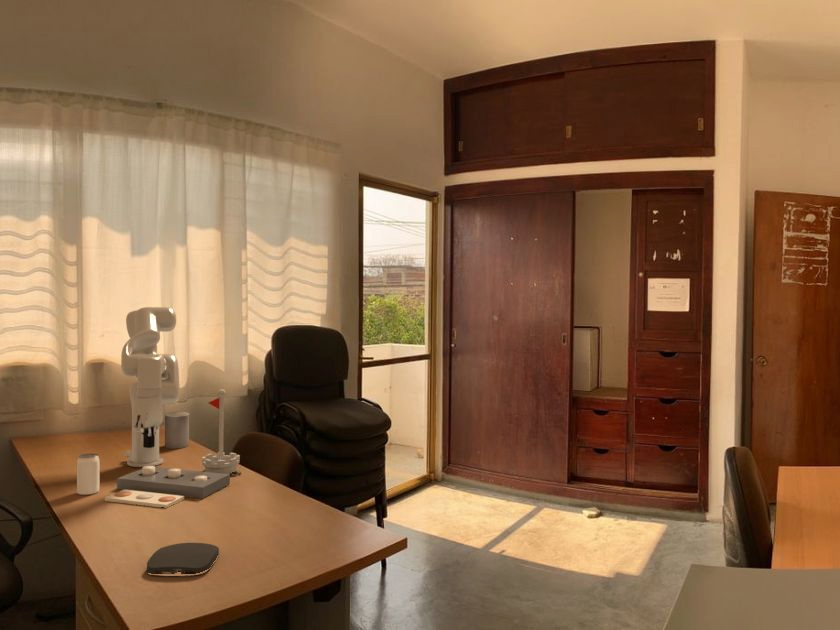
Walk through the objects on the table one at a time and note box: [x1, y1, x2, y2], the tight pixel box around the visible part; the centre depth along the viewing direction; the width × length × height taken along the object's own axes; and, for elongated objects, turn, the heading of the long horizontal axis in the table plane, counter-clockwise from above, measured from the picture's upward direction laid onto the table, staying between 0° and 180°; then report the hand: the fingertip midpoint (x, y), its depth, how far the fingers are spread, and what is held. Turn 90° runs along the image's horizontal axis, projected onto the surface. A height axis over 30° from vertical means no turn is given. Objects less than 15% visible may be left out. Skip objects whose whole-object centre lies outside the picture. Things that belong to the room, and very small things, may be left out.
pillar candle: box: [164, 411, 190, 449], centre depth 276 cm, size 10×10×15 cm
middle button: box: [168, 468, 182, 479], centre depth 219 cm, size 4×4×3 cm
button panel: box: [116, 466, 231, 499], centre depth 219 cm, size 32×16×4 cm, turn 75°
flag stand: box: [201, 388, 241, 474], centre depth 239 cm, size 13×13×30 cm
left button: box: [141, 466, 156, 476], centre depth 221 cm, size 4×4×3 cm
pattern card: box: [104, 489, 185, 509], centre depth 205 cm, size 22×9×1 cm, turn 75°
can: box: [76, 452, 100, 496], centre depth 211 cm, size 6×6×12 cm
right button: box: [194, 476, 207, 482], centre depth 216 cm, size 4×4×3 cm
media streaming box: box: [146, 542, 220, 574], centre depth 158 cm, size 15×15×3 cm
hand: (148, 447), depth 221 cm, fingers closed
